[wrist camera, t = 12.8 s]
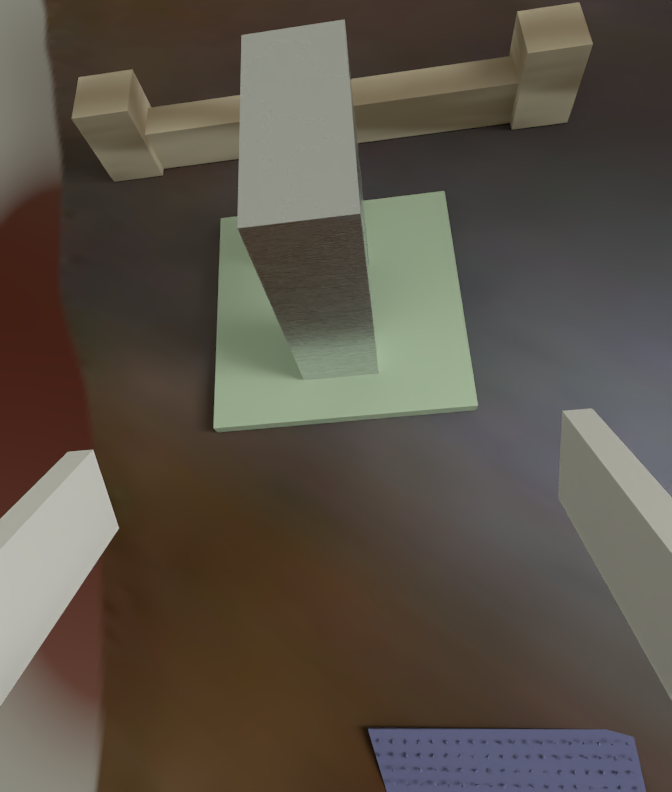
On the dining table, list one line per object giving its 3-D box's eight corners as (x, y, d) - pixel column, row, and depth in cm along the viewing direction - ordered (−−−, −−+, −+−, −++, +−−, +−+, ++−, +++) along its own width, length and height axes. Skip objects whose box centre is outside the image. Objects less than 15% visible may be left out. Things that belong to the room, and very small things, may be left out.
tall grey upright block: (299, 239, 29) (241, 35, 19) (367, 231, 28) (344, 19, 18) (304, 380, 26) (237, 228, 16) (378, 373, 25) (360, 213, 15)
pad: (224, 225, 30) (220, 218, 30) (443, 198, 29) (444, 190, 29) (217, 432, 26) (213, 428, 25) (476, 409, 25) (477, 405, 24)
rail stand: (119, 143, 34) (78, 77, 30) (556, 83, 31) (579, 2, 27) (114, 181, 33) (71, 118, 28) (567, 122, 30) (592, 44, 26)
